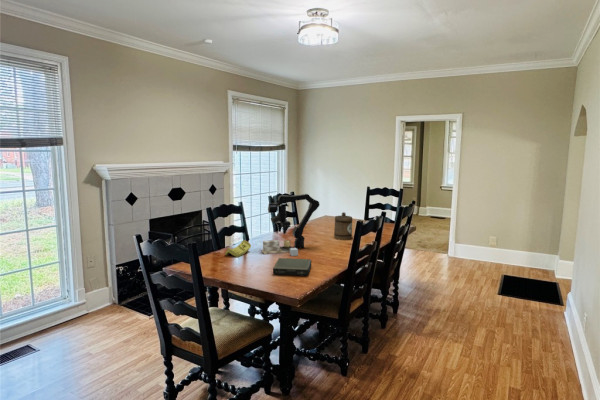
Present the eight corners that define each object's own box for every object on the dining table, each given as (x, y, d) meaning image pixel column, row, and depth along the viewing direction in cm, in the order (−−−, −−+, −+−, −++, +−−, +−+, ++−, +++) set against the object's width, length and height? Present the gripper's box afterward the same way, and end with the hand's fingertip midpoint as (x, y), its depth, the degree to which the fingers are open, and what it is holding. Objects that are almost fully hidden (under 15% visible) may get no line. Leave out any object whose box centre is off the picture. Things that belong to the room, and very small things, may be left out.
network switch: (311, 265, 240) (311, 257, 239) (313, 277, 216) (313, 269, 216) (274, 265, 239) (274, 257, 238) (272, 277, 216) (272, 268, 215)
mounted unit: (291, 248, 278) (291, 238, 277) (295, 251, 270) (295, 240, 269) (261, 251, 270) (261, 240, 269) (264, 254, 262) (264, 242, 261)
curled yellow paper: (238, 254, 253) (227, 246, 256) (235, 263, 256) (223, 255, 258) (253, 245, 271) (242, 238, 273) (250, 254, 273) (239, 247, 276)
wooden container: (352, 240, 307) (353, 214, 305) (334, 240, 308) (335, 213, 305) (350, 236, 322) (351, 211, 319) (333, 236, 322) (334, 210, 320)
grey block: (295, 254, 264) (295, 247, 264) (297, 255, 260) (297, 249, 260) (289, 254, 263) (289, 248, 262) (291, 256, 259) (291, 249, 258)
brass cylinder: (289, 248, 275) (289, 240, 274) (291, 249, 271) (291, 241, 270) (282, 248, 274) (283, 240, 273) (284, 250, 269) (285, 241, 268)
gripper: (267, 211, 280) (267, 231, 282) (276, 214, 264) (276, 236, 265) (281, 210, 285) (281, 230, 287) (290, 214, 268) (290, 235, 270)
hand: (281, 233), depth 277 cm, fingers open, 9 cm apart
